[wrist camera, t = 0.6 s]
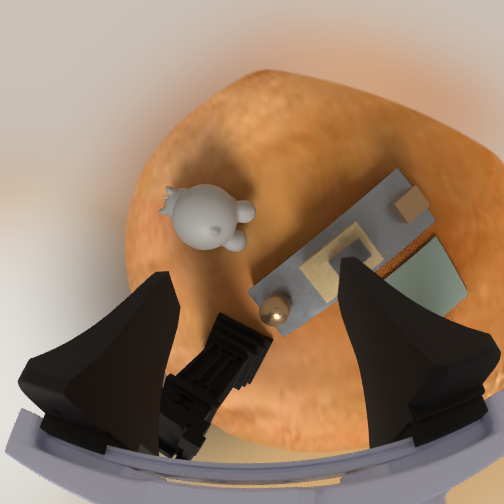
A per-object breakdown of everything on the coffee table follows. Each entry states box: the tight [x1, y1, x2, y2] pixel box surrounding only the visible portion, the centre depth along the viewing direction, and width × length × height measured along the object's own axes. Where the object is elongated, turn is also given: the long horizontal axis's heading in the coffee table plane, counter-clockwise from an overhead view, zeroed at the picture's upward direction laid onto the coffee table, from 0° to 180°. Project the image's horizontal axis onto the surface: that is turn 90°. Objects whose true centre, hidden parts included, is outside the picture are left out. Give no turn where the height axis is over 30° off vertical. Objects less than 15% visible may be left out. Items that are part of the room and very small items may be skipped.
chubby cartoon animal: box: [158, 184, 256, 252], centre depth 32 cm, size 7×12×8 cm, turn 69°
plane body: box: [247, 168, 435, 337], centre depth 28 cm, size 22×7×6 cm, turn 132°
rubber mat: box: [384, 236, 468, 317], centre depth 28 cm, size 9×11×1 cm
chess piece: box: [159, 313, 273, 461], centre depth 27 cm, size 8×8×20 cm
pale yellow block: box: [299, 221, 384, 303], centre depth 26 cm, size 7×4×4 cm, turn 132°
